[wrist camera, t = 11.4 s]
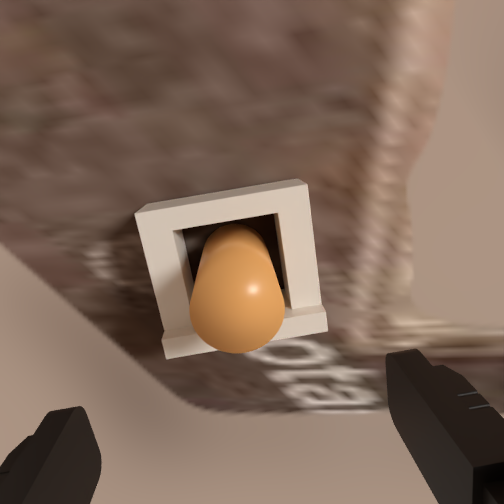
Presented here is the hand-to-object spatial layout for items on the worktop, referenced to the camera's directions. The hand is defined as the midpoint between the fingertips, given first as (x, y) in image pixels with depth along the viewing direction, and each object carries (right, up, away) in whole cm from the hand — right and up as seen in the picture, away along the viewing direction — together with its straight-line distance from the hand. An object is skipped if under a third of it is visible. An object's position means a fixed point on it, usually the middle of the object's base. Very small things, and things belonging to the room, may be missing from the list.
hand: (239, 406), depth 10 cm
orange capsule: (-1, +4, +14) cm, 14 cm away
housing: (-1, +4, +14) cm, 14 cm away
